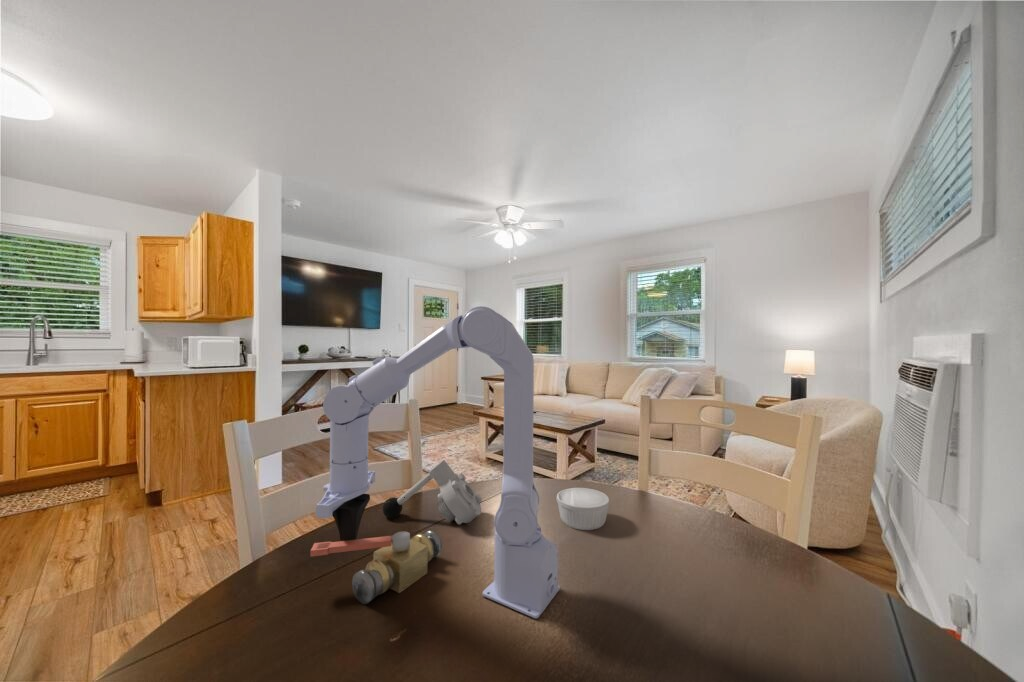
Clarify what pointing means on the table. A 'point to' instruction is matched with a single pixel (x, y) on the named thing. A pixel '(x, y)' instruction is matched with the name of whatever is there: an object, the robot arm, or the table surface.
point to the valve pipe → (396, 567)
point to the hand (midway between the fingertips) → (348, 542)
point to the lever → (363, 544)
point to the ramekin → (583, 508)
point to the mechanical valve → (443, 496)
